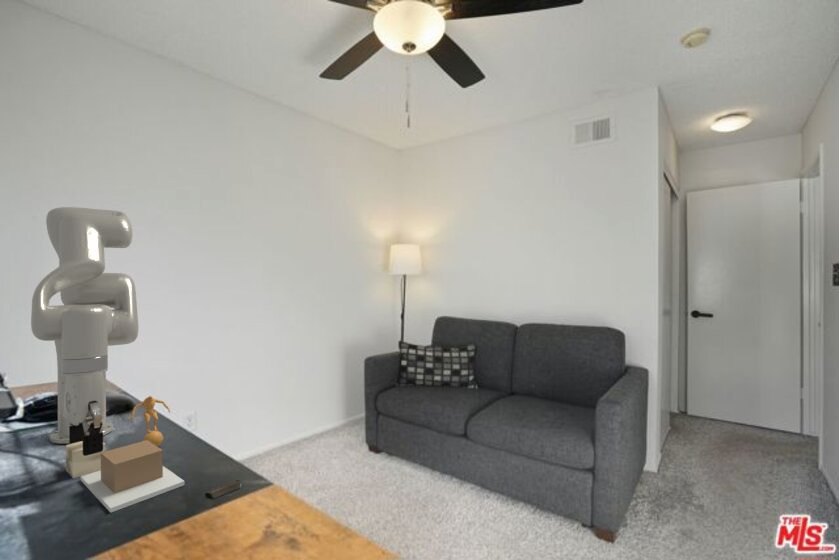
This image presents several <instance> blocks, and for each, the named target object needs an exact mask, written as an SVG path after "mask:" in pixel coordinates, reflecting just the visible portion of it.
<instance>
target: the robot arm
mask: <svg viewBox="0 0 839 560" xmlns="http://www.w3.org/2000/svg"><path fill="white" fill-rule="evenodd" d="M45 221H46V231H47V235H48V237H49V240H50V243H51V244H52V247H53V249H54V251H55V253H56V254H57V257H58V260H59V261H58V264H59V265H58V267H56V268H55V269H54V270H52V271H50V272H49V273H48V274H47V275H46V276H44V278H42V279H41V281H40V282H39V283H38V285H36V288H35V289H34V292H33V295H32V300H31V313H30V314H31V317H30V320H31V321H30V326H31V332H32V334H33V336H34V337H35V338H36V339H37V340H40V341H43V342H44V341H46V342H52V341H53V342H54V347H55V351H56V353H55V354H56V361H57V362H56V363H57V430H54V431H53V432H52V433H50V434H49V441H50V442H51V443H53V444H63V445H65V444H73V443H77V442H81V441H83V455H84V456H87V455H91V454H94V453H98V452H101V451H103V442H104V436H105V435H107V434H109V433H111V432H112V431H113V430H114V423H112V422H110V421H107V399H106V398H107V392H106V391H107V385H106V384H107V379H106V378H107V377H106V376H107V375H106V374H107V373H106V372H107V371H108V369H109V365H108V364H109V363H108V360H109V359H108V358H109V357H108V352H109V351H108V350H109V349H108V348H109V347H111V346H121V345H122V346H123V345H128V344H129V345H130V344H131V343H134V342H135V341H136V340H137V338H138V335H139V316H138V305H137V304H138V303H137V293H136V292H137V291H136V285H135V282H134V280H133V278H132V277H131V276H130V275H128V274H126V273H121V272H120V273H119V272H118V273H117V272H104V271H105V269H106V261H105V260H106V259H105V249H106V248H109V249H111V248H112V249H125V248H129V247H130V246H131V244H132V241H133V227H132V223H131V221H130V219H129V217H128V216H127V215H126V213H125V212H123V211H119V210H111V209H109V210H108V209H98V208H88V207H86V208H85V207H76V206H62V207H56V208H53V209H50V210H49V211H48V213H47V215H46V219H45ZM57 293H60V300H61V302H62V304H63V305H62V304H61V305H49V304H50V300H51V299H52V297H54V296H55V295H56V294H57Z"/></svg>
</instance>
